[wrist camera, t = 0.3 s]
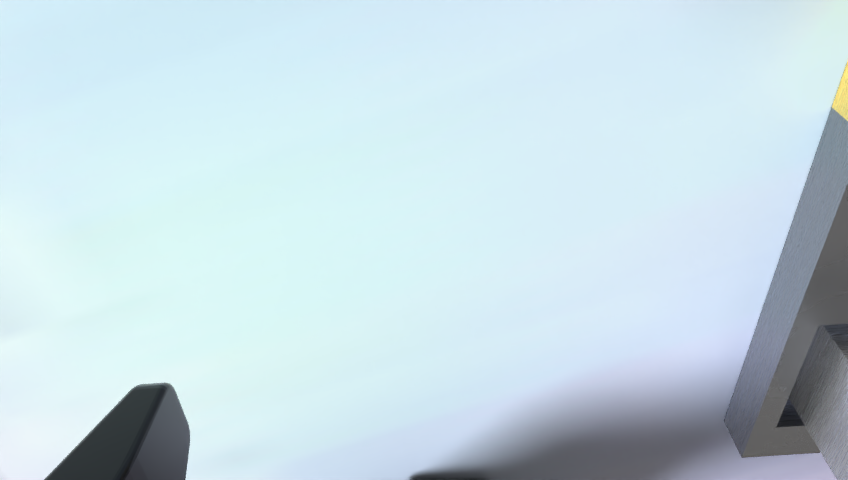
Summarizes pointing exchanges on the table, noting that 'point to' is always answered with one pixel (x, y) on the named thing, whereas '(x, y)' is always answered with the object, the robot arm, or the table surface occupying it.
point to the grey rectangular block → (826, 395)
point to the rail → (798, 302)
